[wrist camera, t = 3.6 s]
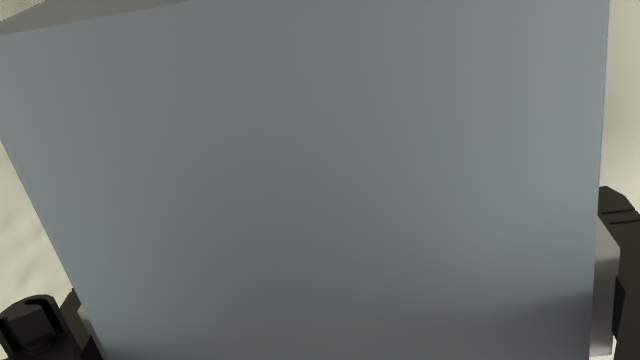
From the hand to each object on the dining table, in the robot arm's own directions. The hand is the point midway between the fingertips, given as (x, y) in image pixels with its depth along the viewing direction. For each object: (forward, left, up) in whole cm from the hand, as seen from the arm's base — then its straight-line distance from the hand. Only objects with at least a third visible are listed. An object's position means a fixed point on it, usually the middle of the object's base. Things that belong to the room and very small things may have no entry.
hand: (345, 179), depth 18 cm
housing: (0, 0, 0) cm, 0 cm away
